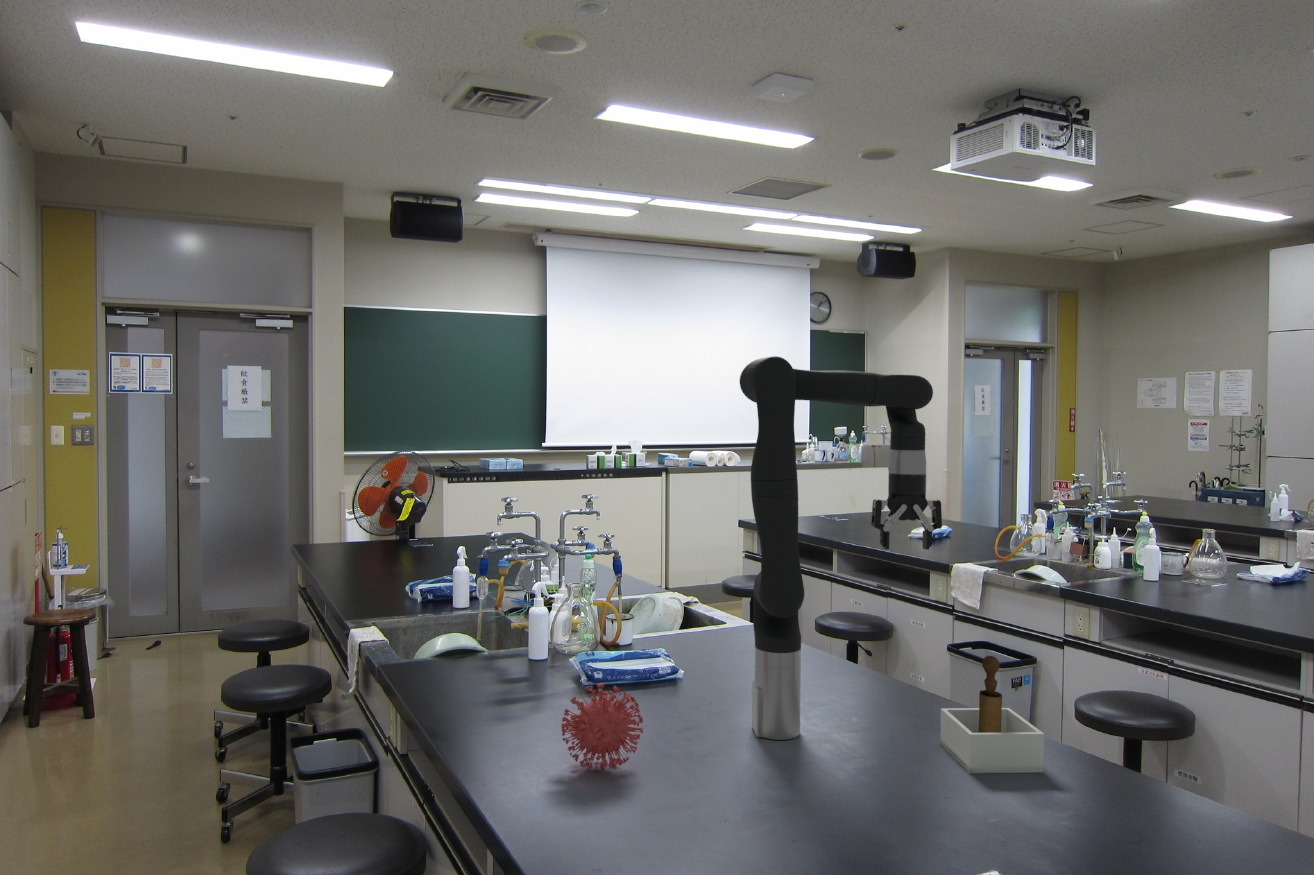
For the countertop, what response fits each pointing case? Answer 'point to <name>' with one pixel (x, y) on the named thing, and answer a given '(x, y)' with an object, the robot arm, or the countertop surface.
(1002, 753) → the box
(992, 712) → the mortar and pestle
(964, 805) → the countertop surface
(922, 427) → the robot arm
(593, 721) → the virus model
